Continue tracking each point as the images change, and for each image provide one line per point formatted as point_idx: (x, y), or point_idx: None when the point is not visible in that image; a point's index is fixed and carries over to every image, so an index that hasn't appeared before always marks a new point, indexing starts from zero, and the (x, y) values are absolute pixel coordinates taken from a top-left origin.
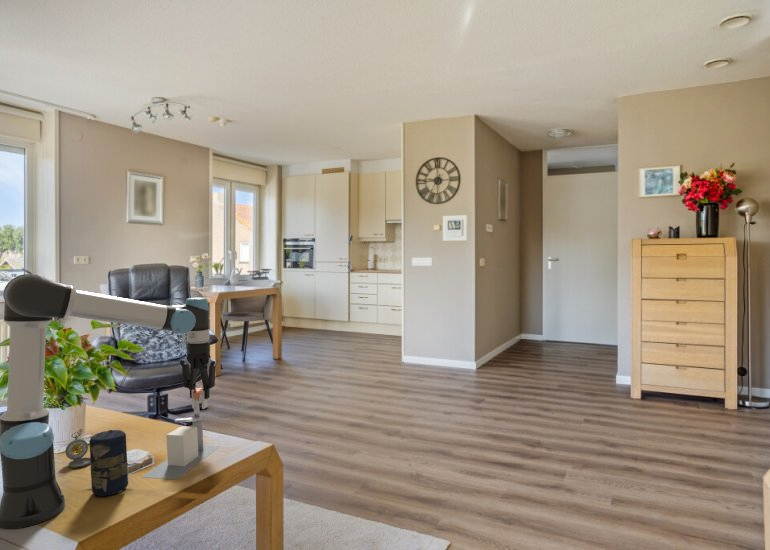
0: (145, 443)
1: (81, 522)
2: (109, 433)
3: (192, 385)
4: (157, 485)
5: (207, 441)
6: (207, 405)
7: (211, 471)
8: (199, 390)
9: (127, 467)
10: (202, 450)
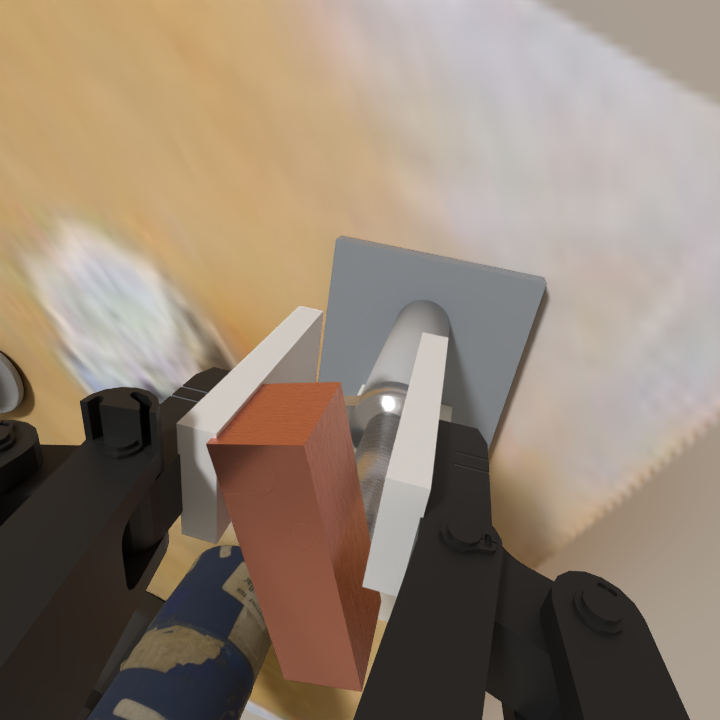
0: (60, 146)
1: (284, 689)
2: None
3: (138, 590)
4: None
5: (414, 123)
6: (445, 349)
7: (555, 522)
8: (341, 616)
9: (259, 633)
10: (449, 338)
